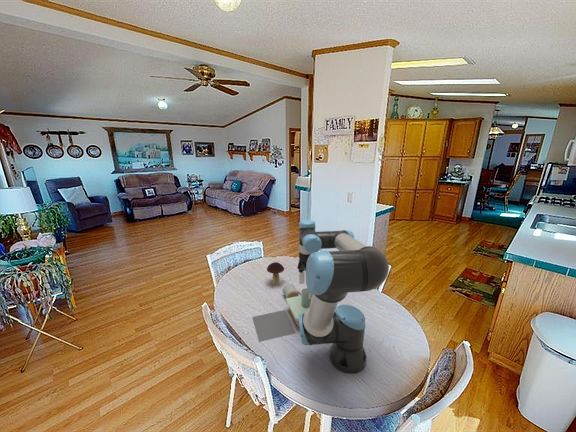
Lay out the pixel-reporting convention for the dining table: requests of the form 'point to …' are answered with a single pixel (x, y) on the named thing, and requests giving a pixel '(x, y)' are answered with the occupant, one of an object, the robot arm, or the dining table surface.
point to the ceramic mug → (290, 291)
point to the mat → (273, 325)
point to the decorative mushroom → (275, 271)
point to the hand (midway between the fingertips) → (306, 290)
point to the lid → (299, 304)
